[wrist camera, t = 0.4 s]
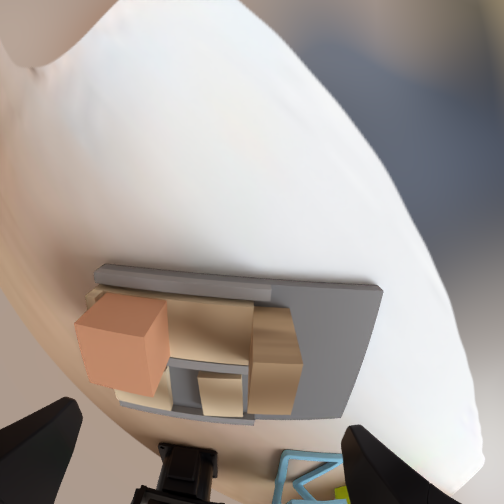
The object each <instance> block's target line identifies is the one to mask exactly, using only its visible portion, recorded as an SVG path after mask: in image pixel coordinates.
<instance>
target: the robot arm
mask: <svg viewBox="0 0 504 504" xmlns="http://www.w3.org/2000/svg"><path fill="white" fill-rule="evenodd" d="M82 419H83V416H82V413H81V411H80V409H79V406H78V404H77V402H76V400H75V399H72V398H69V397H63V398H61V399H59V400H57V401H55V402H54V403H52V404H50V405H48V406H46V407H44V408H42V409H40V410H38V411H36V412H34V413H32V414H31V415H28V416H27V417H24V418H23V419H21V420H19V421H17V422H15V423H13V424H11V425H9V426H7V427H5V428H2V429H1V430H0V504H54V501H55V498H56V496H57V493H58V490H59V487H60V484H61V482H62V479H63V477H64V474H65V472H66V469H67V466H68V464H69V462H70V459H71V457H72V454H73V451H74V448H75V444H76V441H77V437H78V433H79V430H80V427H81V424H82ZM158 449H159V452H160V455H161V459H162V462H163V465H162V469H161V473H160V476H159V480H158V484H157V488H156V490H155V489H152V488H148V487H147V486H144V485H141V488H140V489H136V491H135V494H134V497H133V500H132V502H131V504H225V503H215V502H210V494H211V485H212V478H217V475H218V467H217V452H216V451H213V450H205V449H197V448H190V447H184V446H177V445H172V444H166V443H159V445H158ZM341 450H342V458H343V466H344V475H345V483H346V487H347V492H348V496H349V500H350V504H461V503H459V502H458V501H456V500H454V499H453V498H451V497H449V496H448V495H446V494H445V493H443V492H442V491H441V490H439V489H438V488H437V487H435V486H434V485H433V484H431V483H430V484H429V481H427V480H426V479H425V478H424V477H422V476H421V475H420V474H419V473H417V472H416V471H415V470H414V469H412V468H411V467H410V466H409V465H407V464H406V463H405V462H404V461H403V460H401V459H400V458H399V457H398V456H397V455H395V454H394V453H393V452H392V451H391V450H390V449H388V448H387V447H386V446H385V445H384V444H382V443H381V442H380V441H379V440H378V439H377V438H376V437H374V436H373V435H372V434H371V433H370V432H369V431H368V430H366V429H365V428H364V427H363V426H362V425H351V426H349V427H348V428H347V429H346V432H345V434H344V436H343V439H342V441H341Z"/></svg>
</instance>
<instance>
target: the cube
mask: <svg viewBox="0 0 504 504" xmlns="http://www.w3.org/2000/svg"><path fill="white" fill-rule="evenodd" d="M74 326H75V330H76V335H77V339H78V343H79V347H80V350H81V354H82V358H83V361H84V365H85V368H86V372H87V375H88V378H89V381H90V382H91V383H94V384H98V385H101V386H105V387H109V388H113V389H117V390H121V391H125V392H129V393H133V394H138V395H143V396H147V397H154V395H155V392H156V390H157V387H158V385H159V382H160V380H161V377H162V375H163V372H164V370H165V368H166V365H167V363H168V360H169V358H170V346H169V332H168V316H167V301H165V300H157V299H149V298H141V297H134V296H127V295H120V294H113V293H106V294H105V295H104V296H102V297H101V298H100V299H99V300H98V301H97V302H96V303H95V304H94V305H93V306H92V307H91V308H90V309H89V310H87V311H86V312H85V313H84V314H83V315H82V316H81V317H80V318H79V319H78V320H77V321H76V322H75V323H74Z"/></svg>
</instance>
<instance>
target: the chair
mask: <svg viewBox="0 0 504 504" xmlns="http://www.w3.org/2000/svg"><path fill="white" fill-rule="evenodd" d="M289 459H299V460H310V461H324V462H328V463H326V464H325V465H323V466H321V467H319V468H317V469H315V470H313V471H311V472H309V473H307V474H305V475H303V476H301V477H299V478H298V479H296V480H294V481H293V488H294V489H295V490H296V491H297V492H298V493H299V494H300V496H301V497H302V498H303V499H304V500H293V499H291V500H290V501H289V502H287V503H286V504H347V501H346V499H336V500H329V501H317V500H316V499H315V498H314V497H313V496H312V495H311V494H310V493H309V492H308V491H307V490H306V489H305V488H304V487H303V485H304V484H306V483H307V482H309V481H311V480H313V479H315V478H317V477H319V476H321V475H323V474H325V473H326V472H328V471H330V470H332V469H334V468H335V467H337V466H339V465H340V464H342V463H343V458H342V454H333V453H317V452H305V451H296V450H284V451H283V453H282V455H281V458H280V463H279V468H278V473H277V476H276V479H275V490H274V495H273V500H272V504H281V497H282V491H283V486H284V482H285V479H286V473H287V466H288V460H289Z"/></svg>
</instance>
